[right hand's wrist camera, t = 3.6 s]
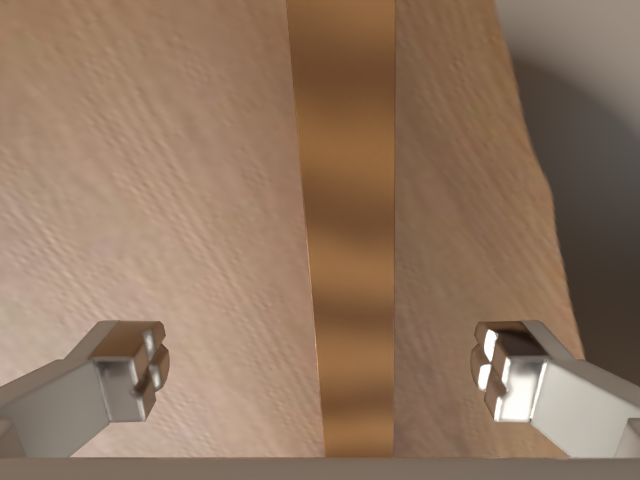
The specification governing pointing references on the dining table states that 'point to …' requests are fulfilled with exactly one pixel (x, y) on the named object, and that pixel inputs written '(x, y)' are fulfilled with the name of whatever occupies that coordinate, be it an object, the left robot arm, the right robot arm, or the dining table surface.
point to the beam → (349, 211)
